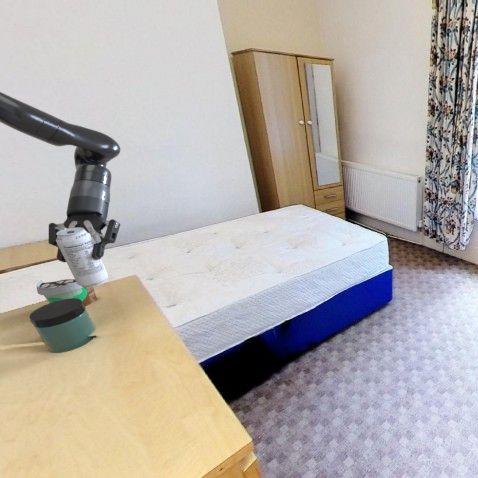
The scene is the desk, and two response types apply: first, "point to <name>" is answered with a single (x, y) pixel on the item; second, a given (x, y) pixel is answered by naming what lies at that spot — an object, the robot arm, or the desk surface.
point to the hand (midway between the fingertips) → (80, 259)
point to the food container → (66, 291)
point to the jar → (68, 333)
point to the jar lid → (57, 312)
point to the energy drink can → (81, 257)
